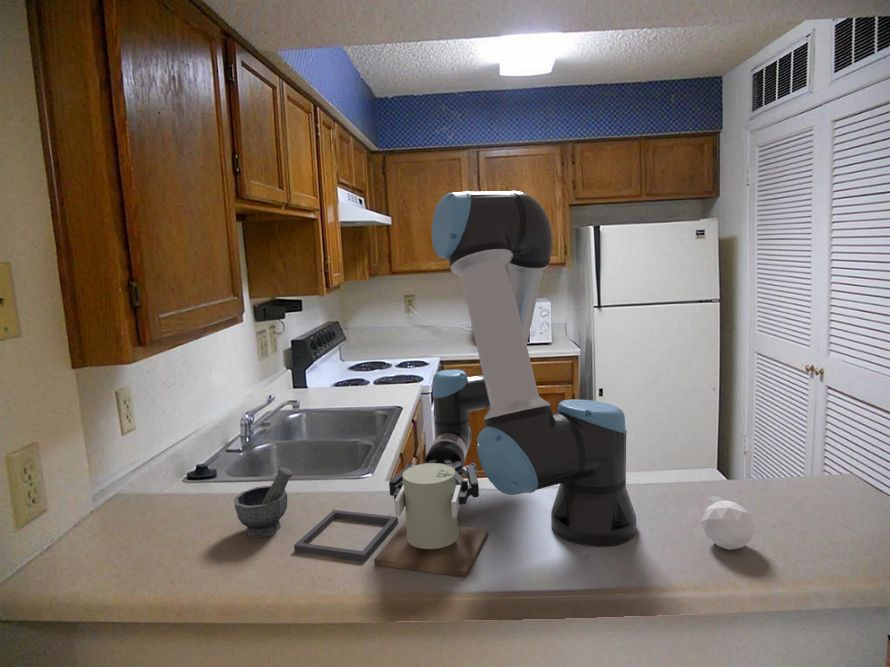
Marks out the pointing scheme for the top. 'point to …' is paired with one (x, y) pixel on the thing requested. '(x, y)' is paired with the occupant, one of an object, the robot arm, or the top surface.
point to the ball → (728, 525)
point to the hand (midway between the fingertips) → (425, 508)
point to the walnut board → (434, 553)
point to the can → (430, 505)
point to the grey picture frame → (340, 552)
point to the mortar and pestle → (263, 506)
